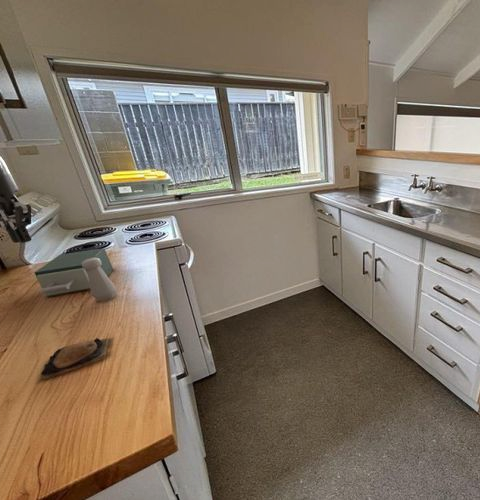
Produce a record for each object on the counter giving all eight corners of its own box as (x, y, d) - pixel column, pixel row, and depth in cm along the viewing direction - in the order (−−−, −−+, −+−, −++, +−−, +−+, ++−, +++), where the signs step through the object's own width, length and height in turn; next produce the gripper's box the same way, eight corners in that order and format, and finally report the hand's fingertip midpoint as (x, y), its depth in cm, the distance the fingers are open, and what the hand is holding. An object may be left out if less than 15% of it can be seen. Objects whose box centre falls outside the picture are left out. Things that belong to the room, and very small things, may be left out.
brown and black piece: (110, 339, 69) (104, 326, 67) (105, 360, 62) (98, 347, 61) (51, 357, 64) (44, 344, 62) (39, 382, 57) (30, 368, 56)
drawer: (83, 296, 86) (74, 277, 83) (34, 306, 82) (23, 285, 80) (108, 270, 103) (100, 253, 100) (68, 276, 99) (59, 259, 96)
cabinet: (96, 288, 92) (85, 264, 89) (47, 297, 88) (33, 272, 85) (113, 269, 105) (104, 248, 102) (71, 276, 101) (60, 254, 98)
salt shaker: (90, 301, 85) (71, 262, 80) (110, 291, 90) (94, 254, 85) (103, 304, 83) (85, 264, 78) (122, 294, 88) (107, 256, 83)
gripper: (28, 171, 69) (59, 237, 76) (-15, 172, 72) (19, 236, 79) (-12, 176, 63) (26, 247, 70) (-58, 177, 65) (-17, 246, 72)
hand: (22, 241), depth 74 cm, fingers closed
